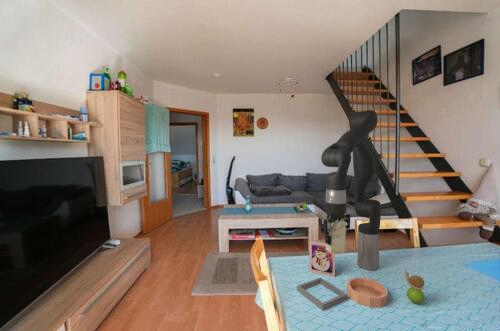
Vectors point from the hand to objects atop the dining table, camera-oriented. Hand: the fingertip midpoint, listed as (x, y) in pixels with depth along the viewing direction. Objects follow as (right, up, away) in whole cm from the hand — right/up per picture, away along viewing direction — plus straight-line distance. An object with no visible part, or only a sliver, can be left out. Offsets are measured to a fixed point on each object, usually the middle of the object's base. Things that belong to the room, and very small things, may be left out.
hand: (335, 242), depth 92 cm
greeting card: (+1, -20, +19) cm, 28 cm away
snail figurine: (+28, -21, -3) cm, 35 cm away
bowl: (+12, -21, 0) cm, 24 cm away
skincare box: (0, -4, 0) cm, 4 cm away
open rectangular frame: (-5, -21, +1) cm, 22 cm away
